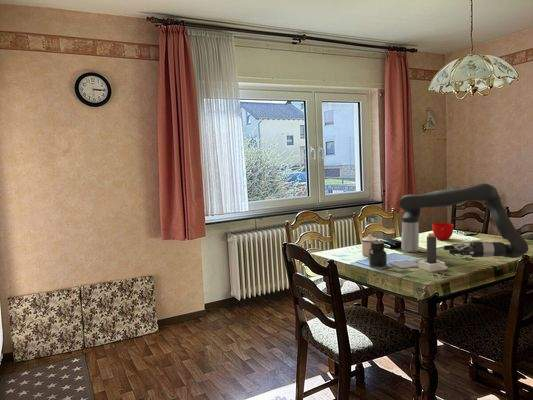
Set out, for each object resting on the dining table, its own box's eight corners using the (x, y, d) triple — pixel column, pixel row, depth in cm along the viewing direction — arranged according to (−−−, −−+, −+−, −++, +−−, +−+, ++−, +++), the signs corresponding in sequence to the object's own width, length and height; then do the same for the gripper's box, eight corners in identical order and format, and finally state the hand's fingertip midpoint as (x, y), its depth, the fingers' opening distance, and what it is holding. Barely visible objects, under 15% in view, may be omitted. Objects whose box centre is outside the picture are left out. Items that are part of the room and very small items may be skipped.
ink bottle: (385, 262, 222) (385, 240, 221) (389, 266, 213) (389, 243, 212) (367, 263, 222) (366, 240, 221) (370, 267, 214) (369, 244, 212)
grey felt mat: (387, 263, 219) (387, 262, 219) (407, 260, 223) (407, 260, 223) (401, 268, 208) (401, 267, 208) (421, 266, 212) (421, 265, 212)
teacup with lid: (370, 257, 234) (369, 236, 233) (358, 254, 242) (358, 234, 241) (385, 254, 241) (384, 234, 240) (373, 251, 248) (372, 232, 247)
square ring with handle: (418, 267, 209) (418, 260, 209) (432, 265, 212) (432, 258, 211) (438, 274, 195) (438, 267, 195) (454, 272, 198) (454, 265, 197)
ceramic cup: (431, 241, 268) (431, 226, 267) (432, 237, 284) (432, 222, 283) (453, 242, 263) (453, 227, 262) (453, 237, 279) (453, 222, 278)
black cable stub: (424, 268, 208) (424, 233, 206) (432, 267, 209) (432, 232, 207) (430, 270, 203) (430, 234, 202) (438, 269, 205) (438, 233, 203)
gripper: (476, 238, 209) (442, 239, 211) (487, 244, 195) (451, 245, 197) (476, 253, 210) (442, 253, 212) (487, 260, 196) (451, 260, 198)
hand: (446, 249), depth 204 cm, fingers open, 8 cm apart
